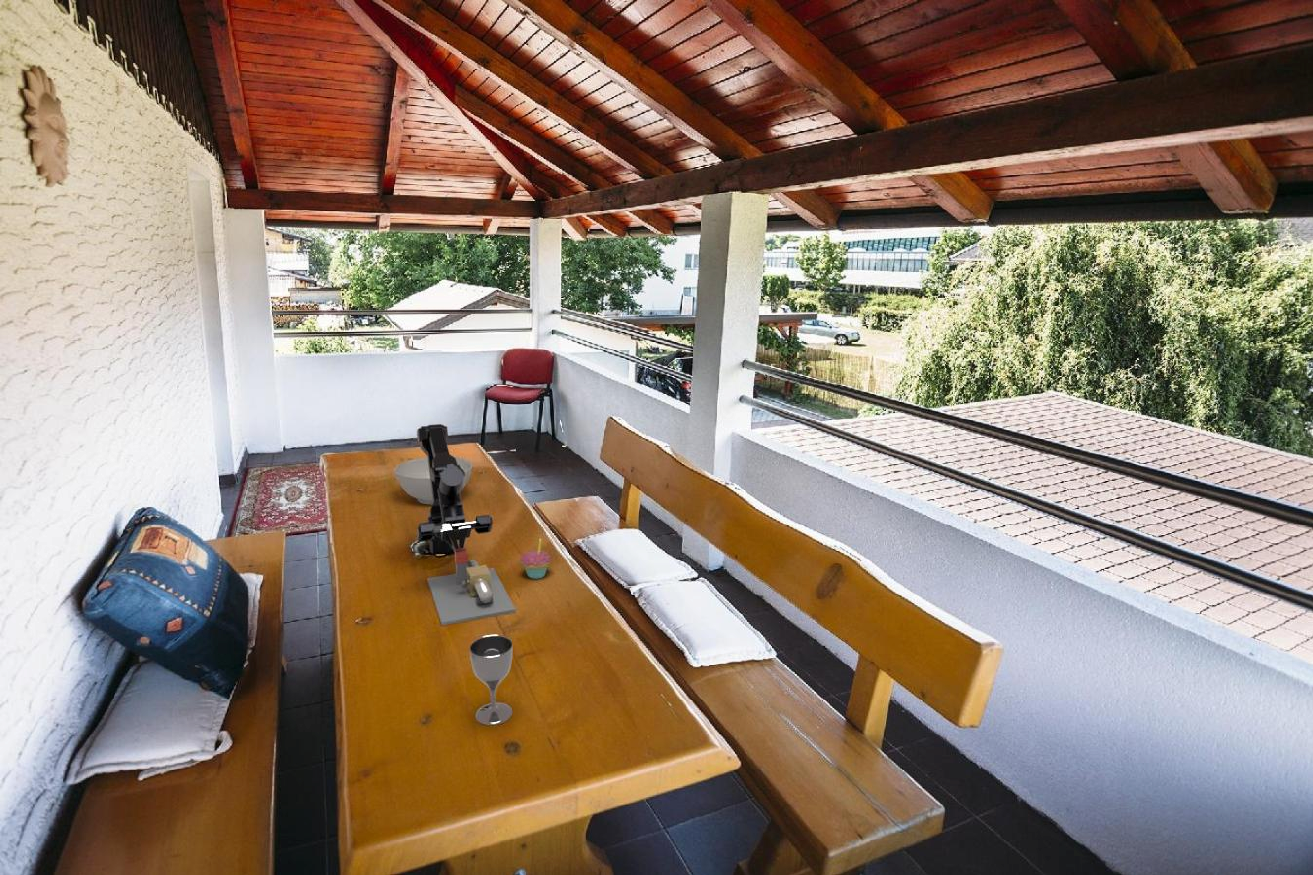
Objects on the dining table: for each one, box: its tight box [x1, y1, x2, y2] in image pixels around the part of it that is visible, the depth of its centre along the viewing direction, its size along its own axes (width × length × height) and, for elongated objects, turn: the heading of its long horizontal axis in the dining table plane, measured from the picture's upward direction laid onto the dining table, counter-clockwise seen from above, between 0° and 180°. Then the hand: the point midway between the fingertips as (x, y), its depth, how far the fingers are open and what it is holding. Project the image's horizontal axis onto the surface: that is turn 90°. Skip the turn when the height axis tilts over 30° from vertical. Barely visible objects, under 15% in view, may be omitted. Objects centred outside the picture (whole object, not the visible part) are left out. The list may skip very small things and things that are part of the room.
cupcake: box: [519, 537, 552, 580], centre depth 201 cm, size 9×8×12 cm
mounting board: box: [427, 567, 517, 626], centre depth 189 cm, size 26×18×1 cm
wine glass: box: [469, 634, 513, 726], centre depth 140 cm, size 8×8×15 cm
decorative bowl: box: [393, 456, 473, 506], centre depth 259 cm, size 27×27×12 cm
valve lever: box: [454, 547, 468, 588], centre depth 185 cm, size 2×3×12 cm
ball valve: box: [466, 559, 493, 606], centre depth 189 cm, size 20×6×6 cm, turn 25°
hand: (460, 558), depth 185 cm, fingers closed, pressing on valve lever
